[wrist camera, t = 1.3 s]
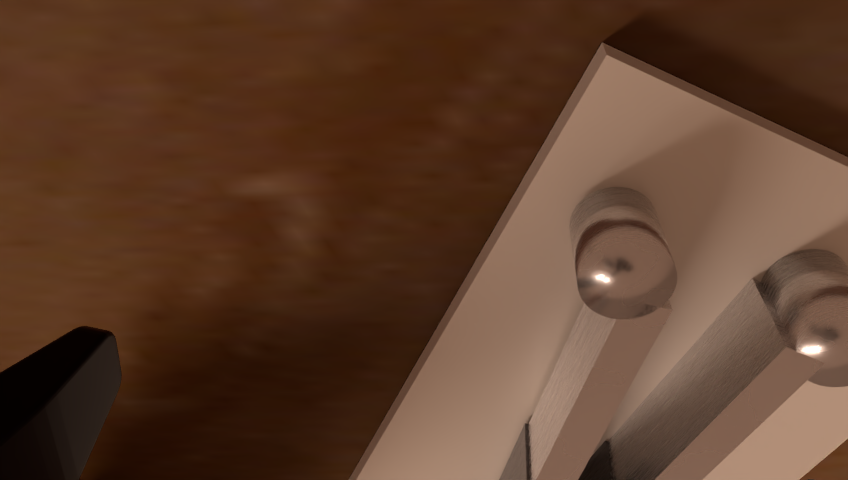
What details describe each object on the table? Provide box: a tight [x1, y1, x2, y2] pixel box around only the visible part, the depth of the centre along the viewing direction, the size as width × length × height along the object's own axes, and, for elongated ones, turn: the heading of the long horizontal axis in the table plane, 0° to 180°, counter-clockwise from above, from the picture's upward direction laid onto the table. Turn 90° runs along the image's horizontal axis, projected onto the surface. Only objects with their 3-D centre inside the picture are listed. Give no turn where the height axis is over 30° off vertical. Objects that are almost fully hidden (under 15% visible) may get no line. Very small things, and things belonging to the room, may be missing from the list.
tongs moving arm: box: [499, 187, 677, 480], centre depth 22 cm, size 16×3×3 cm, turn 167°
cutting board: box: [349, 43, 848, 480], centre depth 25 cm, size 23×14×1 cm, turn 157°
